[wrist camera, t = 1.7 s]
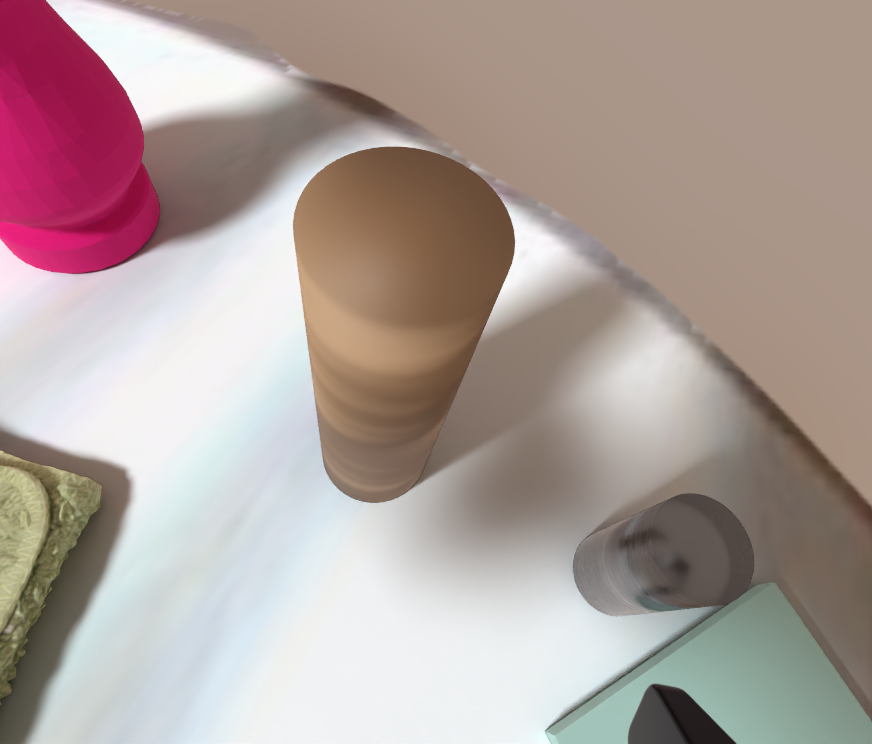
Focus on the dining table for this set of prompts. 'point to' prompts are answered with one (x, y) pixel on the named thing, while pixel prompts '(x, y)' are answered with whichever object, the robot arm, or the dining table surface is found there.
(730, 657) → the teal pad
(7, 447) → the dining table surface
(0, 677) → the washcloth
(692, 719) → the robot arm
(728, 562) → the post near pad
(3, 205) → the pepper mill
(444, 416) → the walnut dowel
